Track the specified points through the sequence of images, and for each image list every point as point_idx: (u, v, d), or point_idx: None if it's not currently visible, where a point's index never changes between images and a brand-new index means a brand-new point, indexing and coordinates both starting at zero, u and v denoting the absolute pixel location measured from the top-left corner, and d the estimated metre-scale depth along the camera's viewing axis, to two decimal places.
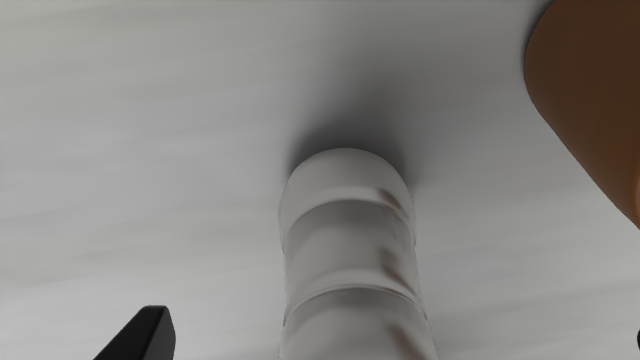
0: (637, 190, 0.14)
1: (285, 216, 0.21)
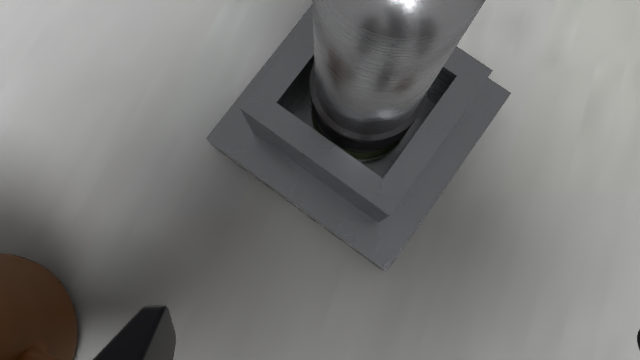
0: None
1: None
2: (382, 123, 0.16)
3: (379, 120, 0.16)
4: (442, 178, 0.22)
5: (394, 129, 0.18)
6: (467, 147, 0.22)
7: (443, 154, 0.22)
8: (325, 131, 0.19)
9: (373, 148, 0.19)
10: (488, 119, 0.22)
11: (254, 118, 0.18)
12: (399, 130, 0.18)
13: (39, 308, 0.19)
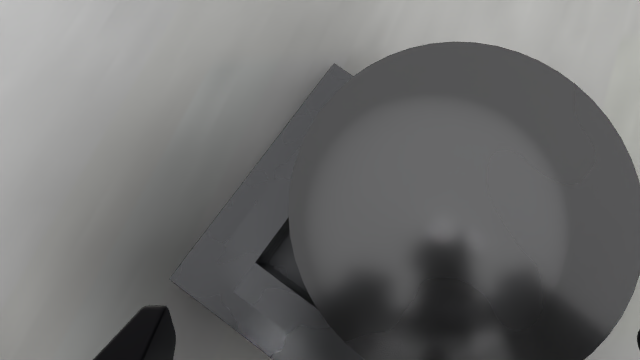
0: None
1: None
2: None
3: None
4: None
5: None
6: None
7: None
8: None
9: None
10: None
11: (225, 284, 0.14)
12: None
13: None
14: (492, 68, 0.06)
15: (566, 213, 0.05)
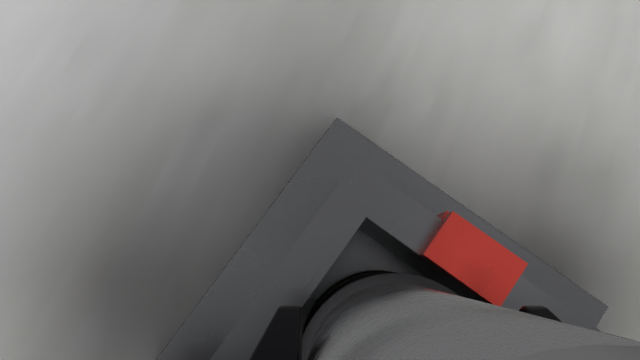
0: None
1: None
2: None
3: None
4: None
5: None
6: None
7: None
8: None
9: None
10: None
11: None
12: None
13: None
14: None
15: None
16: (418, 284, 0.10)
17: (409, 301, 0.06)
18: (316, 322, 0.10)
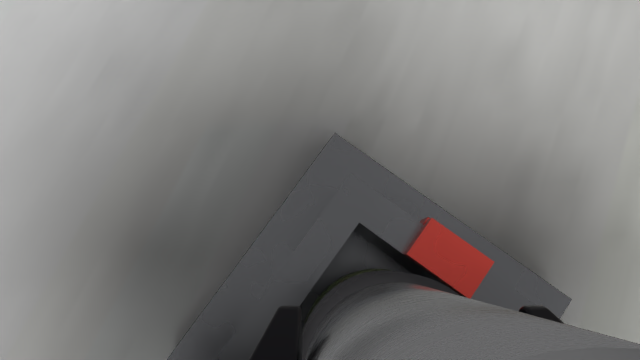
0: None
1: None
2: None
3: None
4: None
5: None
6: None
7: None
8: None
9: None
10: None
11: None
12: None
13: None
14: None
15: None
16: (418, 283, 0.10)
17: (409, 301, 0.06)
18: (316, 321, 0.10)
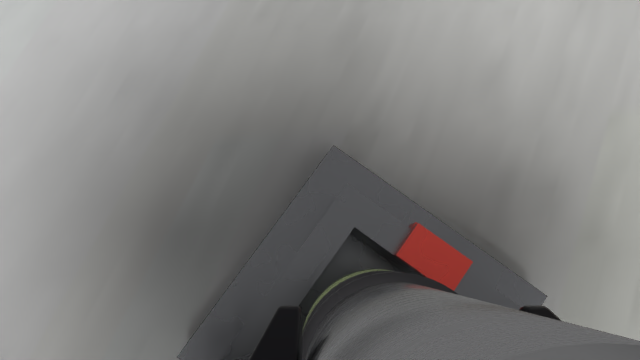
0: None
1: None
2: None
3: None
4: None
5: None
6: None
7: None
8: None
9: None
10: None
11: None
12: None
13: None
14: None
15: None
16: (418, 283, 0.10)
17: (409, 300, 0.06)
18: (316, 321, 0.10)
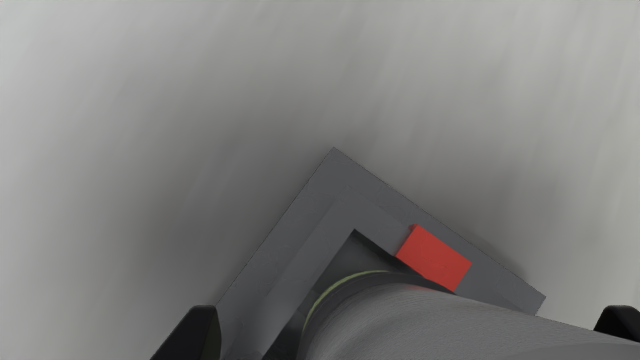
0: None
1: None
2: None
3: None
4: None
5: None
6: None
7: None
8: None
9: None
10: None
11: None
12: None
13: None
14: None
15: None
16: (417, 284, 0.11)
17: (408, 301, 0.06)
18: (316, 322, 0.10)
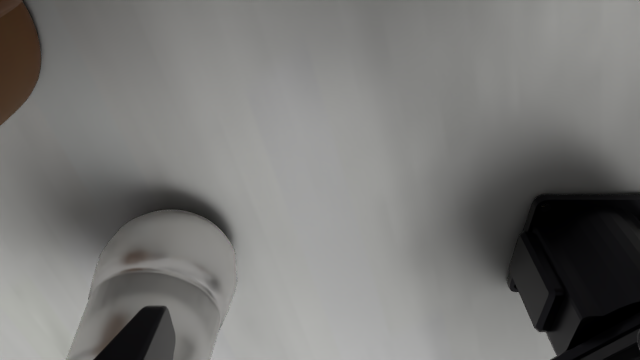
0: None
1: None
2: None
3: None
4: None
5: None
6: None
7: None
8: None
9: None
10: None
11: None
12: None
13: None
14: None
15: None
16: None
17: None
18: None
